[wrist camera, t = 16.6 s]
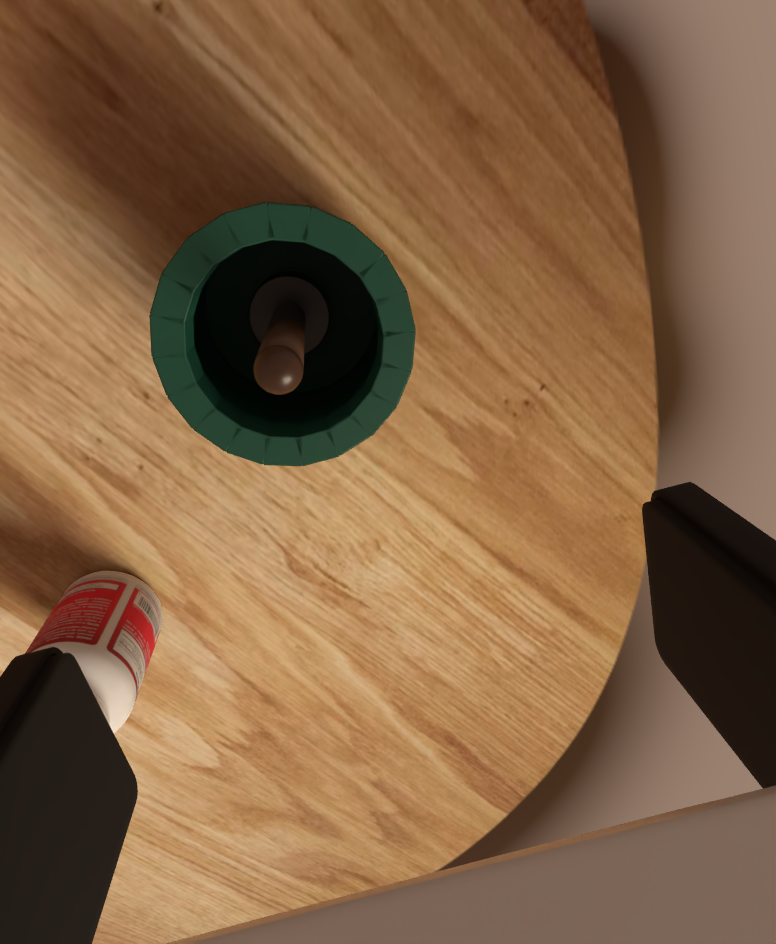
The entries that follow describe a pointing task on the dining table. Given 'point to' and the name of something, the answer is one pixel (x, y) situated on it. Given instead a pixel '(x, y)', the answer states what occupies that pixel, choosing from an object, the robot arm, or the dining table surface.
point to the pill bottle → (106, 636)
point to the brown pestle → (286, 328)
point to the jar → (235, 347)
